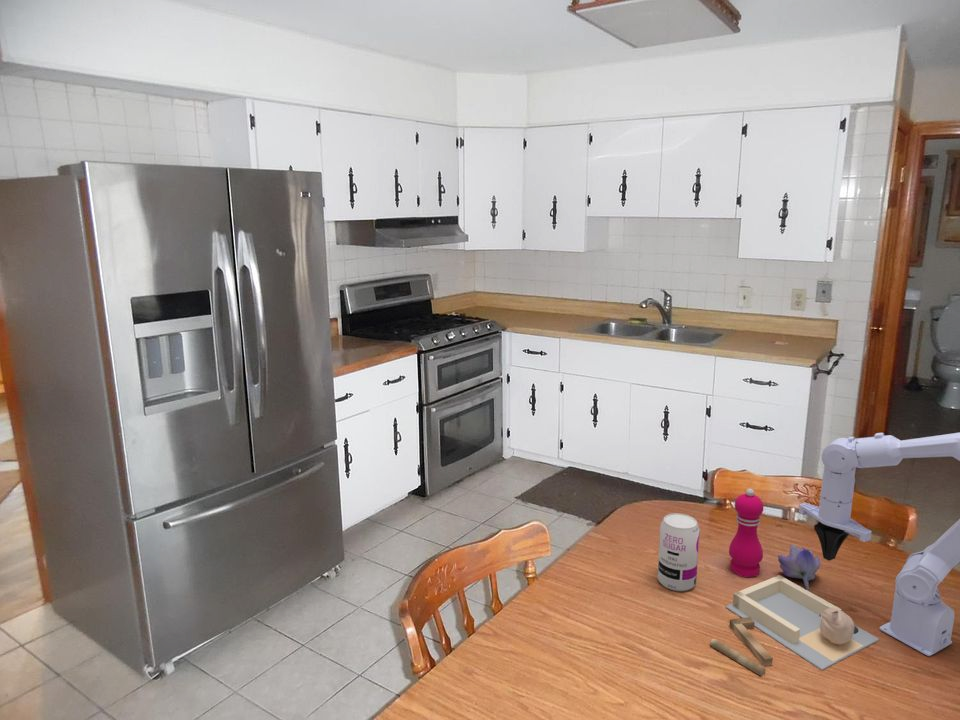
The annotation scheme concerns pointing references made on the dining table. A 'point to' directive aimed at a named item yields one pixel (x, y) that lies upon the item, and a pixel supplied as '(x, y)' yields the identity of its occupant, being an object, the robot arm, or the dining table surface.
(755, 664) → the straight stick
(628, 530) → the dining table surface
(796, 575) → the flower
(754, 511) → the pepper mill
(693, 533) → the supplement can
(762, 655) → the crook tool
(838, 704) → the dining table surface
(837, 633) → the garlic bulb
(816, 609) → the cubby board
